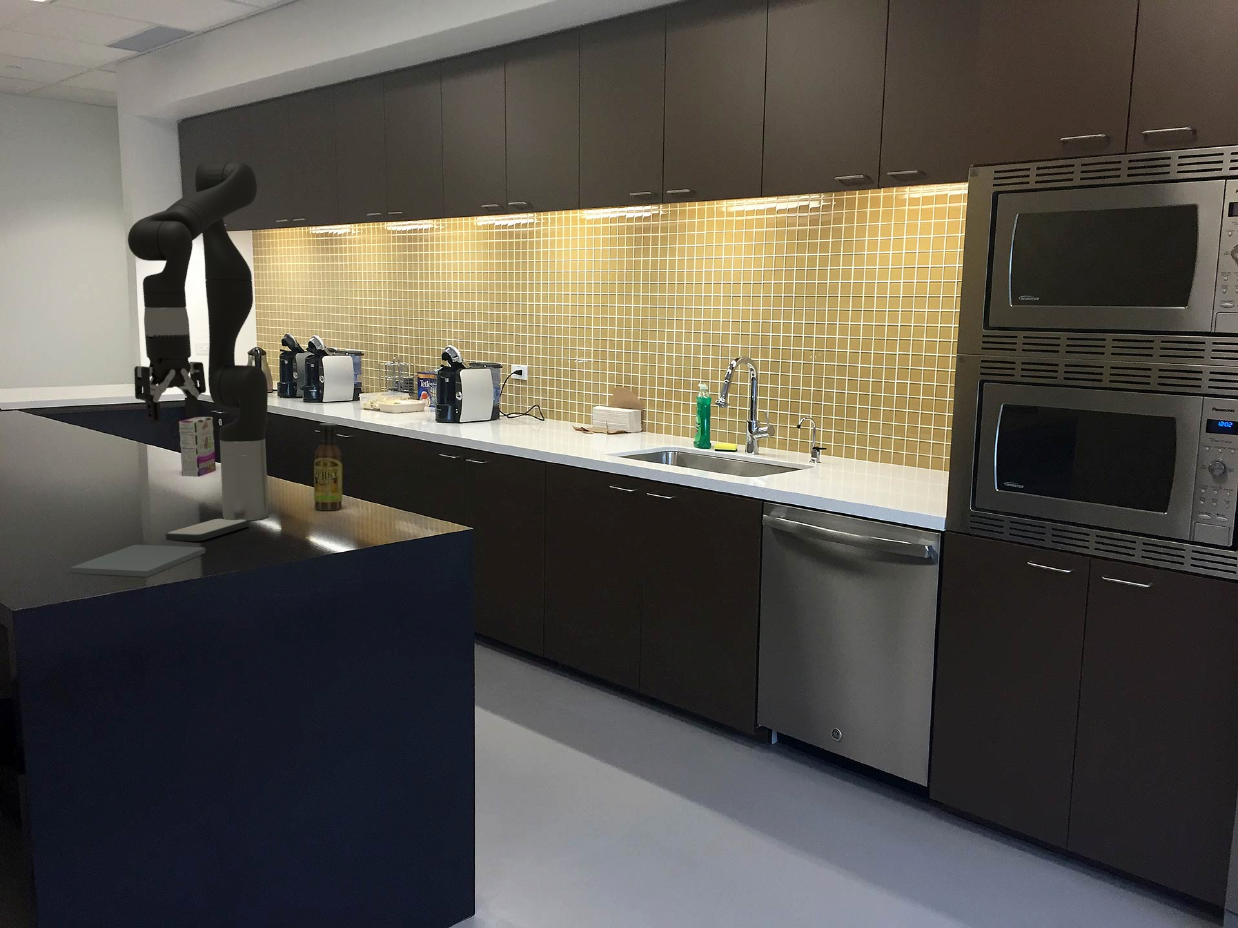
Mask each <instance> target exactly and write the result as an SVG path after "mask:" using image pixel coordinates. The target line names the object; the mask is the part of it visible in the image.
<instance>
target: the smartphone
mask: <svg viewBox="0 0 1238 928" xmlns="http://www.w3.org/2000/svg"><path fill="white" fill-rule="evenodd" d="M249 526H250V520H240V519H223V518H215V519H211V520H208V521H207V520H206V521H203V522H200V523H196V524H193V525H189V526H187V527H182V528H178V529H176V530H172V531H168V532H166V533H165V540H167V541H178V542H179V541H180V542H181V541H183V542H184V541H185V542H202V541H206V540H208V539H213V538H215V537H219V536H221V535H225V534H229V533H232V532H235V531H239V530H241V529H245V528H247V527H248V528H249Z"/></svg>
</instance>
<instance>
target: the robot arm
mask: <svg viewBox="0 0 1238 928" xmlns="http://www.w3.org/2000/svg"><path fill="white" fill-rule="evenodd" d="M194 179H195V180H194V181H195V182H194V183H195V192H194V193H191V194H188V195H186V196H183V197H180V199H178V200H177V201H175V202H174V203H173V204H172V205H169V207H168V208H167V209H166V210H163V211H159V212H156V213H154V214H151V215H148V216H146V217H143V218H141V219H139V220H137V221H136V222H135V223H134V224H133V225H132V227H130V229H129V232H128V235H127V244H128V247H129V250H130V252H131V253H132V254H133V255H134V256H135V257H136V258H138V259H140V260H142V261H147V262H148V261H149V262H156V261H158V262H159V261H160V262H165V265H164V267H163V269H162V271H160V272H158V273H154V274H149V275H146V276H145V277H144V278H143V280H142V292H143V293H142V294H143V305H144V315H143V326H144V327H143V328H144V336H145V337H144V339H145V351H146V357H147V358H148V360H149V365H148V366H144V365H139V366H138V365H137V366H135V367H134V370H133V372H134V374H133V375H134V397H135V399H137V400H141V401H144V403H145V405H146V407H145V408H146V416H147V420H148V421H149V423H152V424H159V423H161V422H162V415H161V403H160V402H159V400H160V398H161V397H162V394H163V393H166V390H167V389H172V388H177V389H179V390H181V392H182V393H183V394H184V396H185V397H184V408H185V416H186V417H187V418H196V417H198V414H199V402H198V398H199V396H200V395H201V394H206V392H207V385H206V379H205V377H206V376H205V369H204V363H203V362H202V361H189V358H191V356H192V349H191V348H192V347H191V346H192V345H191V333H190V321H189V316H188V310H187V298H186V283H187V282H186V281H187V276H188V270H189V265H190V260H191V256H192V253H193V243H194V242H193V241H194V240H196V239H197V238H198V237H199V236H200V235H202V243H203V256H204V279H205V280H204V281H205V282H204V283H205V294H206V295H205V296H206V305H207V316H208V341H209V342H208V344H209V346H208V376H207V377H208V379H207V380H208V390H209V396H210V399H211V400H212V402H213V403H214V404H215V405H216V406H217V407H220V408H228V409H233V408H234V409H239V410H238V416H237V418H236V419H235V420H234V421H232V422H230V423H227V424H224V425H222V426H221V427H220V428H219V446H220V447H219V452H220V453H219V454H220V471H221V472H220V473H221V474H220V475H221V498H222V499H221V500H222V501H221V503H222V519H223V518H224V519H240V520H249V521H256V520H262V519H265V518H268V516H269V512H270V511H269V489H268V473H267V472H268V471H267V452H266V451H267V450H266V430H267V425H268V403H269V402H268V399H269V397H268V396H269V395H268V393H269V392H268V391H269V388H268V380H267V376H266V373H265V372H264V371H263V369H262V368H261V367H259V366H257V365H256V366H255V365H246V364H245V365H242V364H241V365H240V364H236V362H235V361H236V359H235V352H236V349H235V348H236V343H237V338H238V336H239V335H240V332H241V330H242V328H243V326H244V325H245V323H246V321H247V319H248V317H249V315H250V313H251V310H252V308H253V304H254V293H253V292H254V291H253V276H252V275H253V274H252V271H251V268H250V266H249V265H248V263H247V261H246V260H245V258H244V256H243V255H242V253H241V252H240V250H239V249H238V248H237V246H236V245H235V244H234V242H233V240H232V239H231V236H230V235H229V233H228V231H227V228H226V225H225V221H224V218H225V217H227V216H228V215H230V214H233V213H235V212H237V211H239V210H241V209H243V208H246V207H247V206H250V205H251V204H252V203H253V202H254V201H255V198H256V196H257V192H258V183H257V178H256V175H255V173H254V170H253V169H252V167H251V166H250V165H249V164H247V163H245V162H242V161H236V160H235V161H230V160H229V161H217V160H216V161H213V160H212V161H210V160H209V161H202V162H200V163H199V164H198V166H197V167H196V171H195V178H194Z"/></svg>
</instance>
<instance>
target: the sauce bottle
mask: <svg viewBox="0 0 1238 928" xmlns="http://www.w3.org/2000/svg"><path fill="white" fill-rule="evenodd" d="M338 425H339V424H337V423H336V422H323V423H322V422H321V423H319V425H318V428H319V429H318V430H319V445H318V446H317V448H316V450H315V451H314V463H313V471H314V472H313V473H314V474H313V475H314V476H313V478H314V481H313V486H314V487H313V491H314V493H313V500H314V508H315V509H316V510H317V511H318V510H320V511H338V510H341V509H342V506H343V505H342V501H343V462H342V461H343V458H342V457H343V453H342V451H341V449H340V447H339V445H338V440H337V439H338V438H337V437H338V429H339V428H338Z"/></svg>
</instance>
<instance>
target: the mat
mask: <svg viewBox="0 0 1238 928" xmlns="http://www.w3.org/2000/svg"><path fill="white" fill-rule="evenodd" d="M203 554H206V547H201V546H199V547H197V546H196V547H195V546H180V545H179V546H178V545H175V546H174V545H158V544H157V545H153V544H133V545H130V546H127V547H124V548H122V549H118V550H116V551H113V552H110V553H107V554H105V555H101V556H99V557H96V558H93V559H90V560H87V561H84V562H81V563H79V564H76V565H73V566H70V570H69V571H70V573H71V574H80V575H99V576H104V575H105V576H116V577H117V576H119V577H121V576H122V577H140V578H142V577H143V578H148V577H150V576H154V575H155V574H156V575H157V573H160V572H163V571H165V570H167V569H170V568H173V567H175V566H177V565H180V564H182V563H185V562H187V561H189V560H192V559H194V558H196V557H199V556H201V555H202V556H203Z"/></svg>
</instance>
